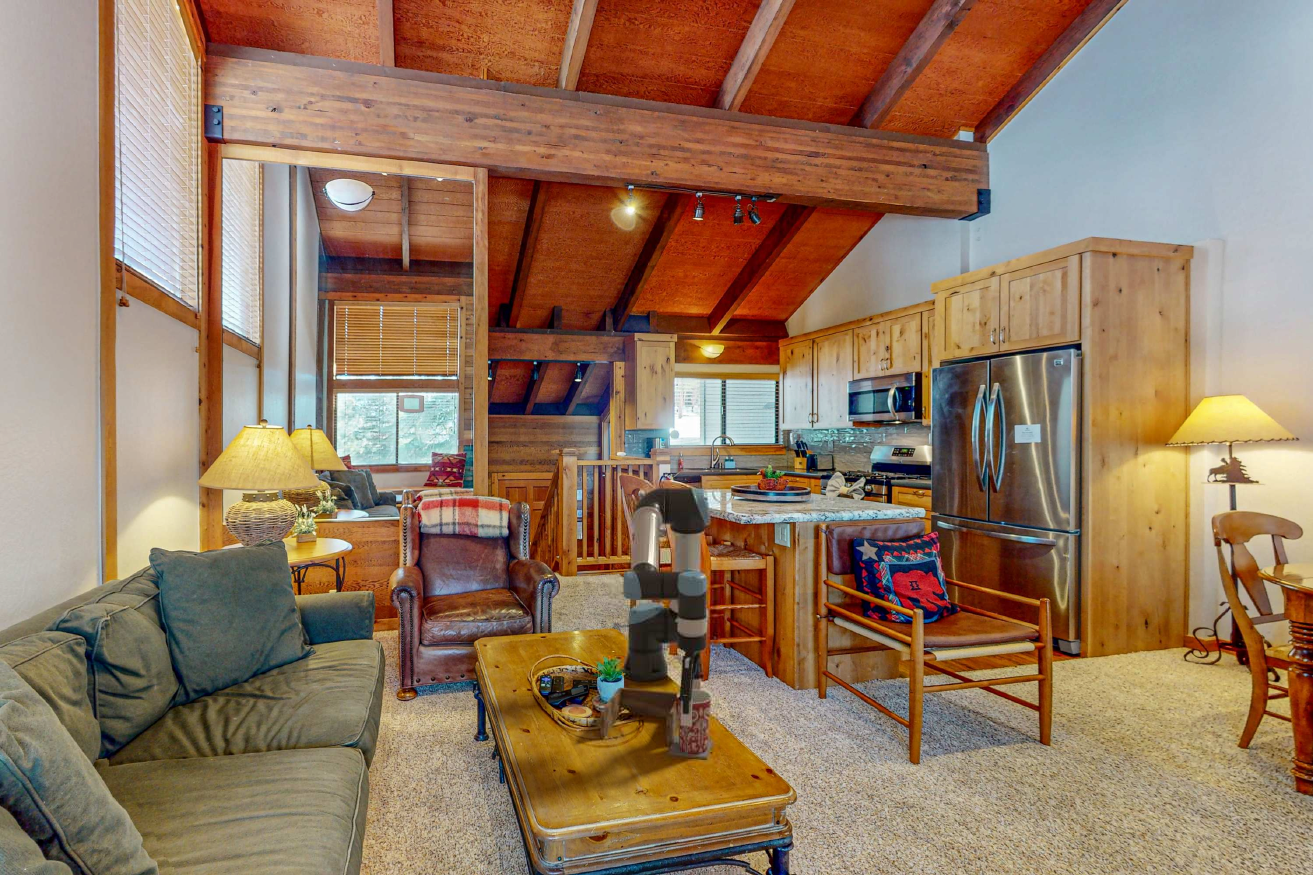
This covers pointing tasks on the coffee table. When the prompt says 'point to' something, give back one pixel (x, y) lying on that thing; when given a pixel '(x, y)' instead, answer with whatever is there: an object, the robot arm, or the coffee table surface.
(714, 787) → the coffee table surface
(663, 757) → the coffee table surface
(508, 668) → the coffee table surface
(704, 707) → the mug
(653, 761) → the coffee table surface
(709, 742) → the pad
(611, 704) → the wooden u-shaped barrier
